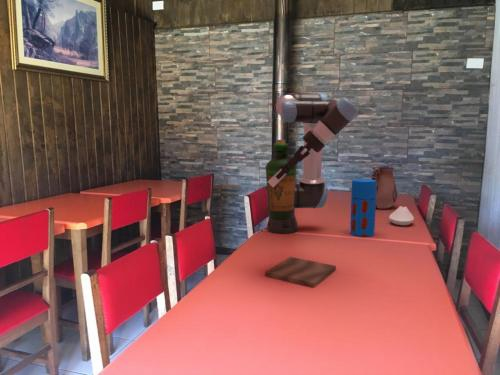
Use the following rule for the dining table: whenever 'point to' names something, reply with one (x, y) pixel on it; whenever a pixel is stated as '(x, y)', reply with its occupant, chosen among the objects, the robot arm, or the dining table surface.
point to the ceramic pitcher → (384, 186)
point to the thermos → (363, 207)
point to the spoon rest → (401, 216)
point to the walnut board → (301, 271)
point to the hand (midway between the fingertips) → (272, 182)
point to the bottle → (280, 185)
